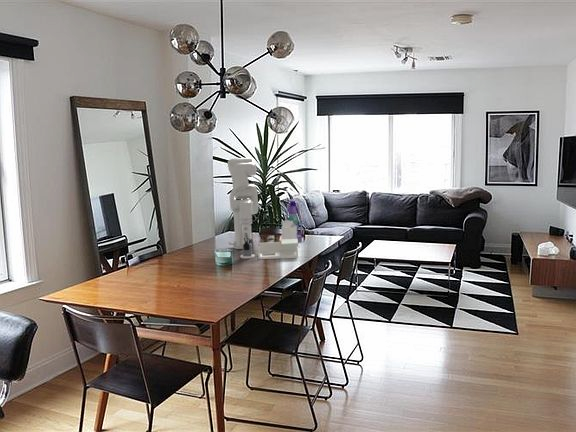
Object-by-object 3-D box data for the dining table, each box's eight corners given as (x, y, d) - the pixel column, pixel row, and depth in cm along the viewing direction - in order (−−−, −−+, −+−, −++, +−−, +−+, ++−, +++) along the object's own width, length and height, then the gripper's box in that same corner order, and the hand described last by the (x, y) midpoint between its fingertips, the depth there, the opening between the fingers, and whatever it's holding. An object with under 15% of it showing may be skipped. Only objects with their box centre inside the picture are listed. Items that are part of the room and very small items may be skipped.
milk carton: (290, 250, 366) (289, 221, 364) (282, 249, 370) (281, 221, 368) (297, 248, 372) (296, 220, 369) (288, 248, 376) (287, 219, 373)
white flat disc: (239, 258, 348) (239, 257, 347) (241, 255, 356) (241, 254, 356) (254, 258, 347) (254, 256, 347) (255, 255, 356) (255, 253, 356)
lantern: (289, 243, 391) (288, 200, 386) (281, 241, 401) (280, 199, 397) (306, 241, 397) (305, 198, 393) (298, 239, 407) (296, 197, 403)
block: (243, 256, 349) (242, 245, 349) (244, 254, 354) (243, 243, 353) (251, 256, 349) (250, 244, 348) (252, 254, 354) (251, 243, 353)
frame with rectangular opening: (258, 259, 344) (257, 247, 343) (259, 254, 359) (259, 242, 358) (298, 257, 344) (297, 245, 343) (297, 252, 359) (297, 241, 358)
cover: (279, 246, 343) (279, 240, 343) (280, 241, 358) (280, 236, 358) (298, 245, 343) (297, 239, 343) (297, 240, 358) (297, 235, 358)
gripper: (251, 223, 340) (252, 251, 343) (253, 219, 357) (254, 245, 360) (238, 223, 340) (240, 251, 343) (241, 219, 358) (242, 246, 360)
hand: (247, 248), depth 351 cm, fingers open, 9 cm apart
